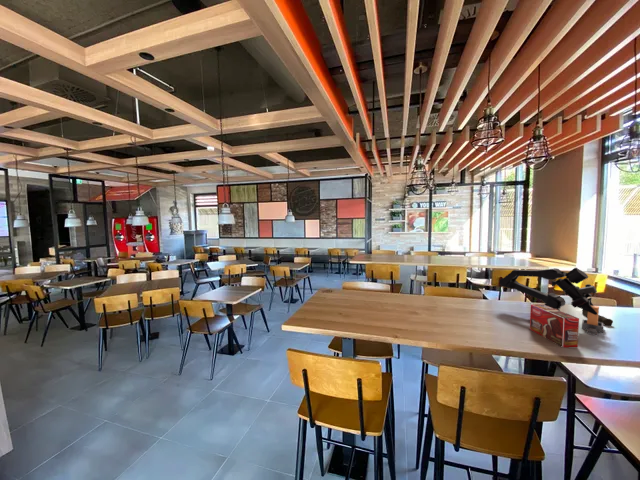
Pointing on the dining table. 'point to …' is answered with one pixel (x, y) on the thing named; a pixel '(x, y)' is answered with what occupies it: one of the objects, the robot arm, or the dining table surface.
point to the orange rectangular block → (593, 316)
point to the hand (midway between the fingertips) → (596, 313)
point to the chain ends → (592, 327)
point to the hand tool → (600, 319)
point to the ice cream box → (554, 325)
